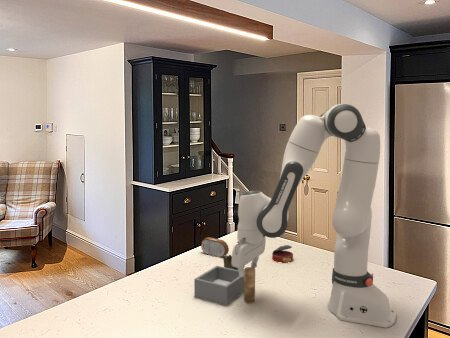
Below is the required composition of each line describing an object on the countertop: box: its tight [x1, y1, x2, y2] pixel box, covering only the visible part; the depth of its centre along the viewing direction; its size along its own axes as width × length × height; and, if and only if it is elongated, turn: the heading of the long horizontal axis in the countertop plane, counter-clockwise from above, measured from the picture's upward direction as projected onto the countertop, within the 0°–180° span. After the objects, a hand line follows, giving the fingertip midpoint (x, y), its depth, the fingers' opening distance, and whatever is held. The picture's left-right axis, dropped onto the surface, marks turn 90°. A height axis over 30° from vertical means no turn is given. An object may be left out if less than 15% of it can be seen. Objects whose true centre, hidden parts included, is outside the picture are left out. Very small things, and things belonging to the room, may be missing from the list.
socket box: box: [193, 265, 244, 307], centre depth 149 cm, size 14×16×7 cm
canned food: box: [271, 244, 294, 264], centre depth 186 cm, size 11×10×10 cm
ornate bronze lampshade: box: [222, 254, 238, 270], centre depth 166 cm, size 8×7×8 cm
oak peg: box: [243, 266, 256, 304], centre depth 143 cm, size 4×4×12 cm
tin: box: [200, 236, 230, 258], centre depth 192 cm, size 15×3×8 cm, turn 58°
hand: (248, 271), depth 142 cm, fingers open, 8 cm apart
